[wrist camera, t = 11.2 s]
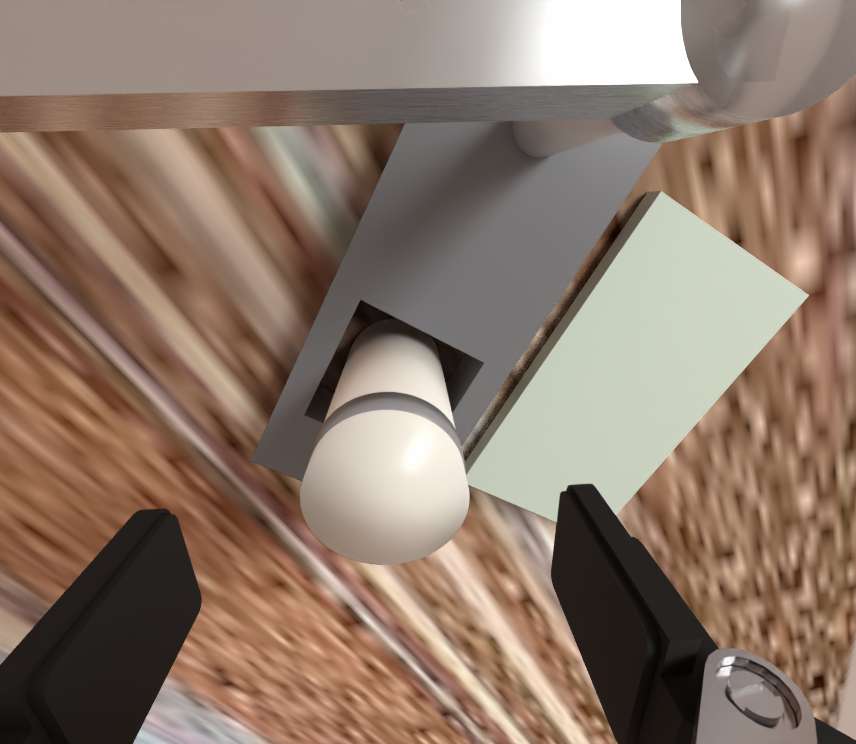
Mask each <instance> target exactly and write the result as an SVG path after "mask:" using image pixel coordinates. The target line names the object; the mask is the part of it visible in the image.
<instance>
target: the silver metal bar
mask: <svg viewBox="0 0 856 744" xmlns="http://www.w3.org/2000/svg"><path fill="white" fill-rule="evenodd" d="M855 74H856V0H0V132H39V131H84V130H129V129H173V128H218V127H263V126H308V125H352V124H397V123H442V122H486V121H531V120H576V119H610V120H611V121H612V122H613V123H614V124H615V126H617V127H618V128H619V129H620V130H621V131H622V132H624V133H626V134H627V135H629V136H631V137H633V138H635V139H638V140H640V141H645V142H651V143H663V142H671V141H675V140H679V139H684V138H688V137H693V136H697V135H702V134H706V133H710V132H715V131H719V130H724V129H728V128H733V127H737V126H741V125H746V124H750V123H755V122H759V121H764V120H768V119H772V118H777V117H781V116H785V115H789V114H793V113H796V112H798V111H801V110H804V109H806V108H808V107H810V106H812V105H814V104H816V103H818V102H820V101H822V100H823V99H825V98H826V97H828V96H829V95H831V94H832V93H834V92H835V91H837V90H838V89H839V88H840V87H841V86H843V85H844V84H845V83H846V82H847V81H849V80H850V79H851V78H852V77H853V76H854V75H855Z"/></svg>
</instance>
